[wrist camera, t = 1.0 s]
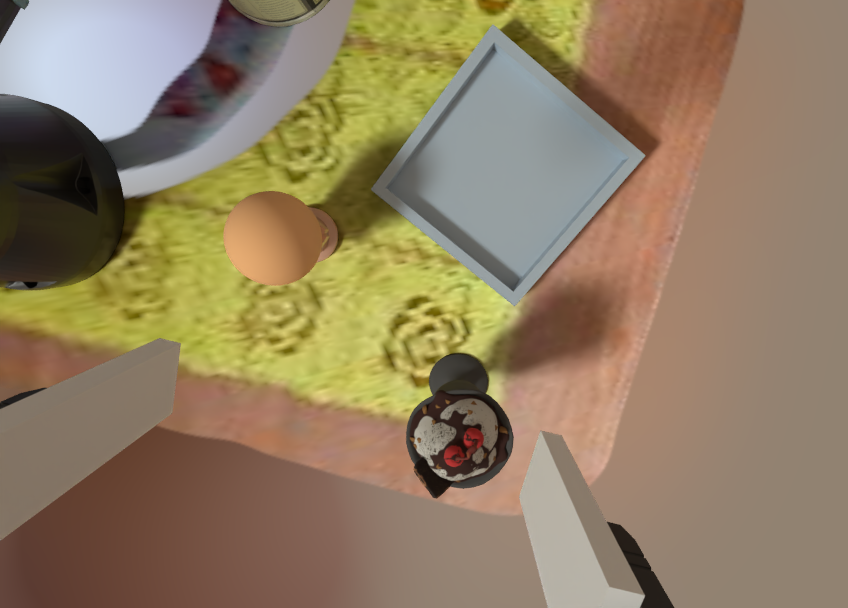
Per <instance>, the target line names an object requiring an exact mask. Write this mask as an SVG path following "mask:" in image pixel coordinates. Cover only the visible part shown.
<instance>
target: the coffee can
mask: <svg viewBox="0 0 848 608" xmlns="http://www.w3.org/2000/svg"><path fill="white" fill-rule="evenodd" d="M228 1H229V2H230V3H231V4H232V5H233V7H234V8H235V9H237V10H238V11H239V12H240V13H242V14H243V15H245V16H246V17H247V18H249V19H251V20H253V21H255V22H258V23H260V24H264V25H268V26H276V27H277V26H284V27H287V26H290V25H294V24H298V23H301V22H303V21H306V20H308V19H309V18H311V17H312V16H314V15H316V14H317V13H318V12H319V11H320V10H322V9H323V7H325V5H326V4H327V3H328V2H329V1H330V0H228Z"/></svg>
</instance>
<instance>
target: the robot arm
mask: <svg viewBox="0 0 848 608" xmlns="http://www.w3.org/2000/svg"><path fill="white" fill-rule="evenodd" d="M28 3H29V0H0V43H1V41H2V40H3V38H4V36H5V34H6V33H7V31H8V29H9V27H10V26H11V24H12V22H13V20H14V19H15V17H16V15H17V14H18V12H19V10H20V8H23V9H25V8H26V7H27V6H28ZM123 220H124V198H123V192H122V187H121V182H120V179H119V176H118V173H117V170H116V168H115V166H114V163H113V161H112V159H111V158H110V156H109V154H108V152H107V151H106V149H105V148H104V146H103V145H102V143H101V142H100V141H99V140H98V138H97V137H96V136H95V135H94V134H93V133H92V132H91V131H90V130H89V129H88V128H87V127H86V126H85V125H84V124H83V123H82V122H80V121H79V120H78V119H76V118H75V117H73V116H72V115H70V114H69V113H67V112H65V111H63V110H61V109H59V108H57V107H54V106H52V105H49V104H45V103H41V102H38V101H35V100H31V99H28V98H24V97H20V96H15V95H8V94H0V287H5V288H10V289H18V290H44V289H50V288H56V287H62V286H68V285H72V284H75V283H78V282H81V281H83V280H85V279H87V278H88V277H90V276H92V275H93V274H94V273H96V272H97V271H98V270H99V269H101V267H102V266H103V265H104V264H105V263H106V262H107V261H108V260H109V258H110V257H111V255H112V254H113V252H114V250H115V248H116V246H117V244H118V241H119V238H120V235H121V232H122V227H123ZM180 345H181V343H177V342H173V341H169V340H165V339H161V338H159V339H157V340H155V341H152V342H150V343H148V344H146V345H143V346H141V347H139V348H137V349H134V350H132V351H130V352H128V353H125V354H123V355H121V356H119V357H116V358H114V359H112V360H110V361H107V362H105V363H103V364H101V365H98V366H96V367H94V368H92V369H89V370H87V371H85V372H83V373H80V374H78V375H76V376H74V377H71V378H69V379H67V380H65V381H62V382H60V383H58V384H56V385H53V386H51V387H49V388H41V389H37V390H33V391H28V392H24V393H20V394H18V395H16V396H13V397H11V398H9V399H6V400H4V401H1V402H0V540H2V539H3V538H4V537H6V536H7V535H8V534H10V533H11V532H12V531H14V530H15V529H16V528H18V527H19V526H20V525H22V524H23V523H24V522H26V521H27V520H29V519H30V518H31V517H33V516H34V515H35V514H37V513H38V512H39V511H41V510H42V509H43V508H45V507H46V506H47V505H49V504H50V503H52V502H53V501H54V500H55V499H57V498H58V497H59V496H61V495H62V494H64V493H65V492H66V491H68V490H69V489H70V488H72V487H73V486H74V485H76V484H77V483H78V482H80V481H81V480H83V479H84V478H85V477H87V476H88V475H89V474H91V473H92V472H93V471H95V470H96V469H97V468H99V467H100V466H101V465H103V464H104V463H106V462H107V461H108V460H110V459H111V458H112V457H114V456H115V455H116V454H118V453H119V452H120V451H122V450H123V449H124V448H126V447H127V446H129V445H130V444H131V443H132V442H134V441H135V440H137V439H138V438H139V437H141V436H142V435H143V434H145V433H146V432H147V431H149V430H150V429H151V428H153V427H154V426H156V425H157V424H158V423H160V422H161V421H162V420H164V419H165V418H166V417H168V416H169V415H170V414H172V410H173V402H174V394H175V386H176V378H177V370H178V361H179V353H180ZM519 498H520V502H521V506H522V510H523V514H524V517H525V521H526V525H527V529H528V533H529V537H530V541H531V544H532V548H533V552H534V556H535V559H536V564H537V567H538V571H539V575H540V579H541V582H542V587H543V591H544V594H545V598H546V602H547V606H548V608H674V606H673V605H672V603H671V601H670V599H669V598H668V596H667V594H666V593H665V591H664V589H663V588H662V586H661V584H660V582H659V580H658V579H657V577H656V575H655V574H654V572H653V571H651V567H650V565H649V563H648V561H647V560H646V558H644V555H643V553H642V551H641V549H640V548H639V546H638V544H637V543H636V541H635V539H634V538H632V536H631V535H630V534H629V533H628V532H627V531H626V530H625V529H624V528H623V527H622V526H621V525H618V524H614V523H610V522H606V520H605V518H604V516H603V514H602V512H601V510H600V508H599V506H598V504H597V502H596V501H595V499H594V497H593V495H592V493H591V491H590V489H589V487H588V485H587V483H586V481H585V479H584V478H583V476H582V474H581V472H580V470H579V468H578V466H577V464H576V462H575V460H574V458H573V456H572V455H571V453H570V451H569V449H568V447H567V445H566V443H565V441H564V439H563V437H562V435H558V434H553V433H549V432H545V431H540V434H539V437H538V440H537V443H536V446H535V449H534V452H533V456H532V459H531V462H530V465H529V468H528V471H527V474H526V477H525V480H524V483H523V486H522V490H521V493H520V496H519Z"/></svg>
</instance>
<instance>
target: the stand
mask: <svg viewBox="0 0 848 608" xmlns="http://www.w3.org/2000/svg"><path fill="white" fill-rule="evenodd" d="M309 209H310V210H311V211H312V212H313V213H314V215H315V217H316V218H317V220H318V222H319V225H320V228H321V233H322V248H321V253H320V256H319V258H318V260H317V262H320V261H323V260H325V259H327V258H328V257H329V256H330V255H331V254H332V253H333V252H334V250H335V249H336V246H337V243H338V229H337V226H336V224H335V222H334V220H333V219H332V218H331V217H330V216H329V215H328V214H327V213H326V212H324V211H322V210H320V209H317V208H310V207H309Z"/></svg>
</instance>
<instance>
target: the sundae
mask: <svg viewBox="0 0 848 608" xmlns="http://www.w3.org/2000/svg"><path fill="white" fill-rule="evenodd" d="M429 385H430V389H431V392H432V394H433V396H431V397H429V398H427V399H426V400H424V401H423V402H421V403H420V404H419V405H418V406H417V407H416V408H415V409H414V411H413V412H412V414H411V416H410V419H409V421H408V425H407V432H406V444H407V448H408V452H409V454H410V457H411V459H412V461H413V463H414V464H415V466H414V472H415V473H416V475H417V477H418V478H419V480H420V481H421V482H422V484H423V485H424V486H425V487H426V488H427V489H428V491H429V492H430V494H431V495H432V497H433V498H438V497H439V496H440V495H442V494H443V493H444V492H445V491H446V490H447V489H448V488H449V487H450V486H451V487H456V488H463V489H464V488H471V487H476V486H479V485H482V484H484V483H486V482H487V481H489V480H490V479H492V478H493V477H494V476H495V475H497V474H498V473H499V472H500V470H501V469H502V468H503V467H504V465H505V464H506V462H507V461H508V459H509V457H510V455H511V452H512V448H513V438H514V437H513V432H512V428H511V425H510V422H509V419H508V417H507V416H506V414H505V412H504V411H503V409H502V408H501V407H500V405H499V404H498V403H497V402H496V401H495V400H494V399H493V398H491V397H490V396H489V395H487V394H486V390H487V385H488V378H487V374H486V371H485V369H484V367H483V366H482V365H481V364H480V363H479V361H478V360H476V359H474V358H473V357H471V356H468V355H464V354H452V355H448V356H445V357H444V358H442V359H440V360H439V361H438V362H437V363H436V364H435V365H434V367H433V369H432V371H431V373H430V378H429Z"/></svg>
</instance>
